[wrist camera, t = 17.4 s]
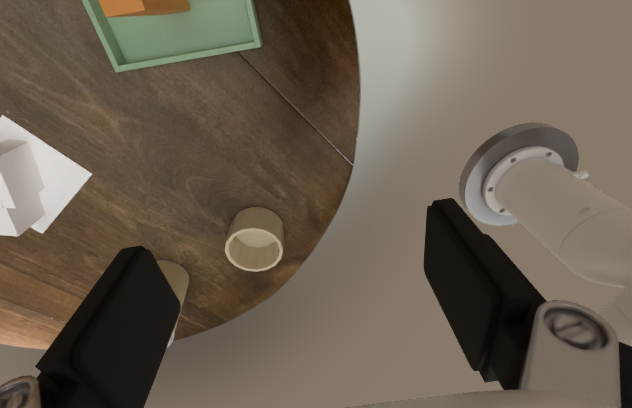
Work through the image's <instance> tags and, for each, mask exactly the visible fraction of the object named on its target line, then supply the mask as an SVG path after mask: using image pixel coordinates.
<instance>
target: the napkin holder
mask: <svg viewBox="0 0 632 408" xmlns="http://www.w3.org/2000/svg"><path fill="white" fill-rule="evenodd" d="M91 175H92V173H90V172H89V171H87V170H86V169H84V168H83V167H81V166H80V165H78V164H76V163H75V162H73V161H72V160H70V159H69V158H67V157H66V156H64V155H63V154H61V153H60V152H58V151H57V150H55V149H54V148H52V147H51V146H49V145H48V144H46V143H45V142H43V141H42V140H40V139H39V138H37V137H36V136H34V135H33V134H31V133H29V132H28V131H26V130H25V129H23V128H22V127H20V126H19V125H17V124H16V123H14V122H13V121H11V120H10V119H8V118H7V117H5V116H4V115H2V116H1V118H0V235H6V236H20V235H21V234H22V233H23V232H24V231H26V230H27V229H28V228H29V227H31V228H33V229H34V230H36V231H38V232H40V233H42V234H43V233H44V232H45V230H46V229H47V228H48V227H49V226H50V224H51V223H52V222H53V221H54V220H55V218H56V217H57V216H58V215H59V214H60V212H61V211H62V210H63V209H64V208H65V206H66V205H67V204H68V203H69V202H70V200H71V199H72V198H73V197H74V196H75V194H76V193H77V192H78V191H79V190H80V188H81V187H82V186H83V185H84V184H85V182H86V181H87V180H88V179H89V178H90V176H91Z"/></svg>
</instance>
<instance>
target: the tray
mask: <svg viewBox="0 0 632 408" xmlns="http://www.w3.org/2000/svg"><path fill="white" fill-rule="evenodd" d="M82 2H83V4H84V6H85V8H86V10H87V12H88V15H89V17H90V19H91V21H92V23H93V25H94V27H95V29H96V31H97V34H98V36H99V38H100V40H101V42H102V44H103V46H104V48H105V51H106V53H107V55H108V57H109V59H110V61H111V63H112V65H113V67H114V70H115V72H121V71H127V70H133V69H139V68H144V67H150V66H156V65H162V64H167V63H173V62H179V61H184V60H190V59H196V58H202V57H207V56H213V55H219V54H225V53H230V52H236V51H242V50H247V49H253V48H259V47H261V46H262V45H263V42H262V38H261V33H260V28H259V24H258V19H257V15H256V10H255V5H254V1H253V0H188V2H189V6H190V9H191V10H189V11H184V12H178V13H173V14H167V15H153V16H130V17H106V16H105V14H104V12H103V10H102V7H101V5H100V3H99V1H98V0H82Z"/></svg>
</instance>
